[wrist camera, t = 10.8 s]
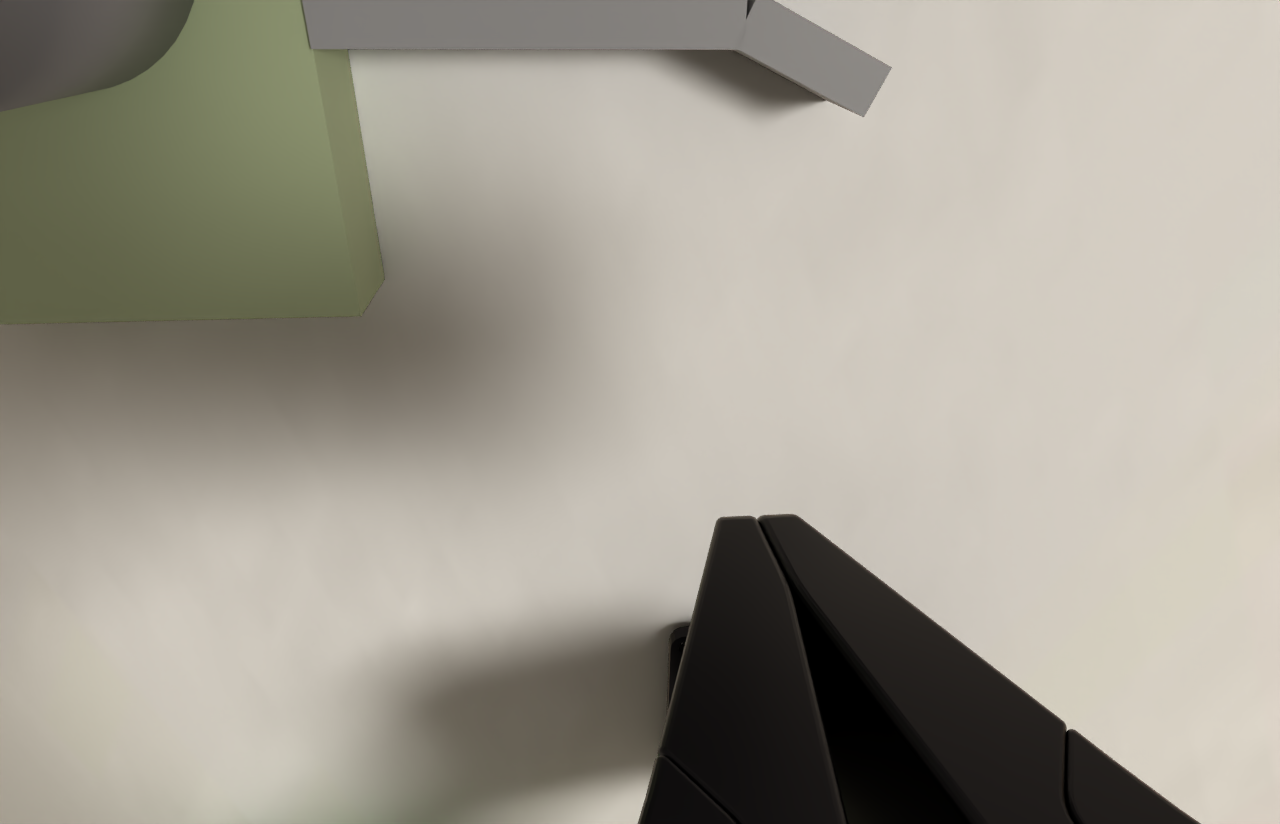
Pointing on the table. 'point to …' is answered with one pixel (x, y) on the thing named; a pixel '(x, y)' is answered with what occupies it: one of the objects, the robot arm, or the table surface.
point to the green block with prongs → (270, 137)
